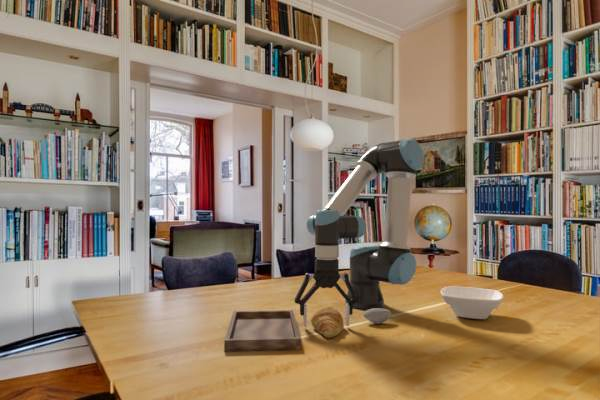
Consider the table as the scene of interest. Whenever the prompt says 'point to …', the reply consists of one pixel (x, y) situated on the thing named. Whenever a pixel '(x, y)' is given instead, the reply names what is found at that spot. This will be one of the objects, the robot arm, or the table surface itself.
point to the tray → (262, 331)
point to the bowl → (471, 301)
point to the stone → (377, 315)
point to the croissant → (328, 322)
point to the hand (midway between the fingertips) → (326, 325)
